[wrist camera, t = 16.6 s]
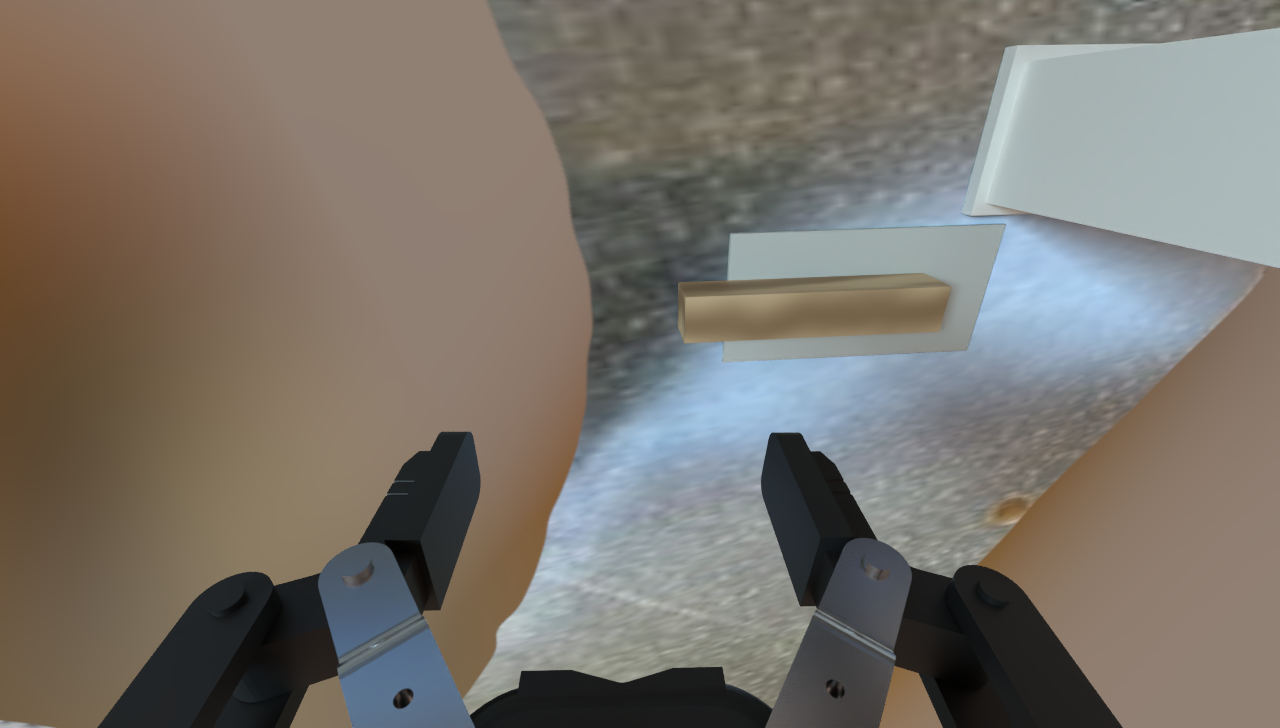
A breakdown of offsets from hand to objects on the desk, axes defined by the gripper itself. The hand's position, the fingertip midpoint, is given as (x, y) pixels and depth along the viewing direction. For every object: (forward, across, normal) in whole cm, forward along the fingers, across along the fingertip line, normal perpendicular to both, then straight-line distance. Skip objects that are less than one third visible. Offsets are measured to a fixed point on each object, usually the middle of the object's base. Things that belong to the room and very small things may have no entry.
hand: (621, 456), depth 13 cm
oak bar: (+30, -16, +8) cm, 35 cm away
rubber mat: (+31, -21, +8) cm, 38 cm away
